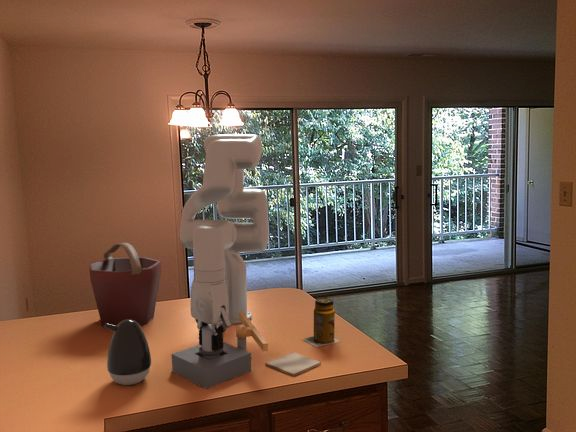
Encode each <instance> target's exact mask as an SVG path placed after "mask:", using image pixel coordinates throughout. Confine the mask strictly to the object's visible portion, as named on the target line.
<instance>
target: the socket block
mask: <svg viewBox="0 0 576 432" xmlns="http://www.w3.org/2000/svg"><path fill="white" fill-rule="evenodd" d="M236 341H237V342H236V344H237V345H236V346H235V345H232V344H230V343H227V342H224V341H223V352H222V353H221V354H220V357H217V358H214V359H211V360H207V359H205V358H203V355H201V354H200V353H199V348H200V347H201V345H199V344H198V345H194V346H192V347H188V348H184V349H183V350H179V351H177V352H173V353H171V372H172V373H174V374H177V375H178V376H181V377H182V378H184V379H186V380H188V381H190V382H192V383H193V384H196V385H198V386H199V387H201V388H204V389H205V390H207V389H209V388H213V387H215V386H216V385H217V386H218V385H220V384H222V383H224V382H227V381H229V380H232V379H234V378H237V377H239V376H241V375H244V374H247V373H249V372H251V371H252V360H251V359H252V353H251V352H249V351H247V337H246V338H237V337H236Z"/></svg>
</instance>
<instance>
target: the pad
mask: <svg viewBox="0 0 576 432" xmlns="http://www.w3.org/2000/svg"><path fill="white" fill-rule="evenodd" d="M321 363H322V362H321V361H319V360H316V359H313V358H312V357H311V358H310V357H308V356H305V355H302V354H301V353H300V354H299V353H297V352H294V351H292V352H290V353H287V354H286V353H285V354H284V355H281V356H279V357H277V358H274V359H272V360H268V361H266V362H265V366H267V367H270V368H272V369H274V370H277V371H280V372H283V373H285V374H287V375H290V376H292V377H295V376H298V375H301V374H303V373H304V372H308V371H309V370H312V369H313V368H315V367H318V366H321Z"/></svg>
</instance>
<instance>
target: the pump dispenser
mask: <svg viewBox="0 0 576 432" xmlns="http://www.w3.org/2000/svg"><path fill="white" fill-rule="evenodd" d="M104 328H106V329H108V330H110V331H113V334H112V336H111V339H110V342H109V347H108V351H107V360H106V368H107V369H106V370H107V371H108V373H109V375H110V377H111V379H112V380H113V381H114V382H115V383H116V384H119V385H123V386H131V385H136V384H138V383H140V382H142V381H143V380H144V379H145V378H146V377H147V376H148V374H149V372H150V369H151V366H152V356H151V355H152V354H151V351H150V346H149V342H148V339H147V337H146V334H145V332H144V330H143V329H142V327H141V325H139V324H138V323H137V322H136V321H135V320H132V319H125V320H123V321H121V322H120V323H119V324H118V325H117V326H115V325H112V324H108V323H106V324H105V327H104Z"/></svg>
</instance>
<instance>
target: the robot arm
mask: <svg viewBox="0 0 576 432" xmlns="http://www.w3.org/2000/svg"><path fill="white" fill-rule="evenodd" d="M203 143H204V145H203V146H204V150H205V160H204V161H205V162H204V169H203V171H204V172H203V180H202V185H201V186H200V187H199V188H197V189H196V190H195V191H194V192H193V193H192V194H191V195H190V197H189V198H188V199H187V201H186V203H185V204H184V206H183V208H182V213H181V219H180V225H179V240H180V243H181V245H182V247H184V248H185V249H189V250H192V252H193V256H192V257H193V280H192V283H191V289H190V290H191V291H190V315H191V317H192V318H194V319H195V320H194V321H195V322H196V324H197V325H196V326H197V330H198V345H201V346H202V327H204V326H207V325H212V330H213V335H212V336H211V337H212V351H216V350H219V349H222V348H223V342H224V334H225V333H226V330H227V329H228V328H229V327H231V326H232V325H240V324H242V322H241V321H240V320H239V312H243V313H244V314H245V315H246V316H247V318H248V319H249V320H250V321H251V319H252V318H253V315H252V313H251V311H248V299H247V298H248V295H247V294H248V291H247V289H248V288H247V287H248V285H247V265H246V262H245V260H244V259H243V257H242V256H241V255H240V253H263V252H265V251H266V250H267V248H268V243H269V220H268V218H269V217H268V215H269V214H268V198H267V194H266V193H265V192H264V190H262V189H260V188H245V187H244V173H243V170H253V169H255V168H257V167H258V164H259V162H260V160H261V157H262V154H263V144H262V143H263V142H262V140H261V138H260V136H259V135H257V134H253V133H251V134H250V133H246V134H245V133H244V134H241V133H240V134H239V133H238V134H234V133H225V134H224V133H223V134H220V133H219V134H212V135H209V136H207V137H206V138H205V139H204V142H203ZM213 204H216V207H217V208H216V209H217V213H218V216H220V217H221V218H224V219H195V217H196V215H197V214H198V213H199V212H200V211H202V210H203V209H204V208H206V207H208V206H210V205H213ZM228 219H232V220H235V219H239V220H243V219H244V220H245V219H246V220H252V222H232V221H230V220H228ZM216 325H217V326H219V327H218V328H217V326H216Z"/></svg>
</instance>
